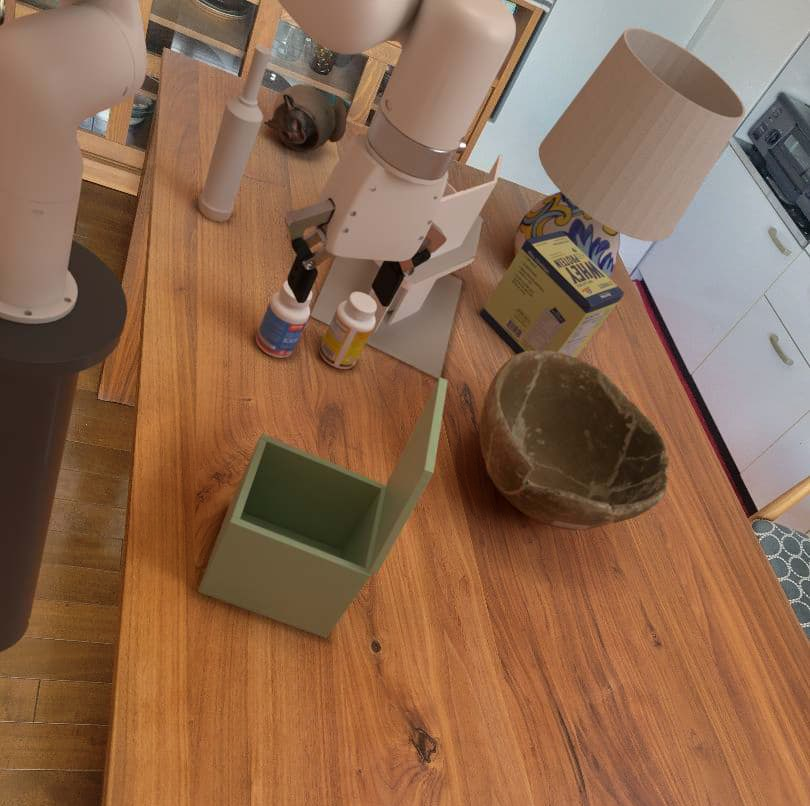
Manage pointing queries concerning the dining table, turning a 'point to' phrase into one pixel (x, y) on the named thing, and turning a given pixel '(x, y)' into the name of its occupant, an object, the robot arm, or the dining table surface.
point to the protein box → (551, 297)
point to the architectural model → (417, 284)
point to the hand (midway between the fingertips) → (338, 295)
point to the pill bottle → (283, 323)
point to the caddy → (295, 538)
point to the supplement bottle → (349, 331)
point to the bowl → (569, 443)
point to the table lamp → (633, 147)
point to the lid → (409, 476)
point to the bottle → (234, 143)
